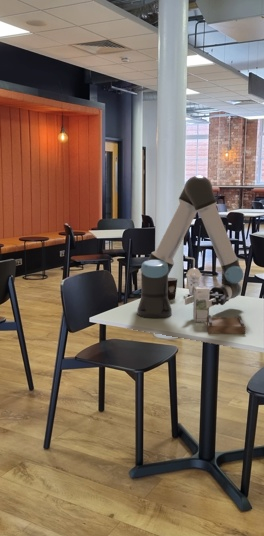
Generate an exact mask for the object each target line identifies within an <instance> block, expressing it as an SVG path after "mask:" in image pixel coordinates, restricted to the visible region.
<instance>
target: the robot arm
mask: <svg viewBox="0 0 264 536" xmlns="http://www.w3.org/2000/svg"><path fill="white" fill-rule="evenodd" d="M213 189H214V188H213V185H212V183H211V181H210V180H209V179H208V178H207V177H206V176H204V175H195V176H192V177H190V178H189V179H188V180H187V181H186V182H185V183H184V187H183V189H182V191H181V192H180V195H179V197H178V201H179V204H178V206H177V207H176V211H175V213H174V215H173V216H172V219H171V220H170V223H169V225H168V227H167V229H166V230H165V232H164V235H163V236H162V238H161V241H160V243H159V245H158V246H157V248H156V250H154V251H152V252H151V253H150V255H149V257H148V259H147V260H144V261H143V262H142V263H141V267H140V272H141V274H140V275H141V280H140V281H141V282H140V284H141V285H140V286H141V288H140V289H141V290H140V291H141V296H140V300H139V304H138V307H137V316H139V317H142V318H147V319H148V318H149V319H160V318H161V319H162V318H169V317H171V316H172V311H173V310H172V306H171V303H170V300H169V299H168V278H169V275H170V273H171V271H172V269H173V267H174V265H175V262H174V258H175V256H176V254H177V252H178V250H179V248H180V246H181V244H182V242H183V240H184V238H185V236H186V234H187V232H188V231H189V228H190V226H191V224H192V222H193V220H194V218H195V217H196V215H197V213H199V216H200V218H201V221H202V223H203V226H204V228H205V231H206V233H207V235H208V237H209V241H210V242H211V245H212V247H213V249H214V252H215V255H216V257H217V259H218V262H219V264H220V266H221V267H220V268H221V284H219V285H217V286H214V287H212V288H211V289H210V293H209V300H208V301H207V302H206V308H209V309H210V308H211V307H214V306H219V305H220V306H224V305H225V304H226V303H227V302H229V300H231V299H232V300H233V299H235V298H237V297H238V296H239V295H240V294H241V293H242V286H241V284H240V282H241V281H242V280H243V278H244V272H243V269H242V267H241V265H240V261H239V260H240V258H239V257H238V256H237V255H236V253H235V251H234V248H233V246H232V243H231V240H230V238H229V235H228V233H227V231H226V227H225V226H224V223H223V221H222V220H223V219H222V218H221V216H220V212H219V210H218V208H217V204H218V203H217V199H216V196H215V193H214V190H213ZM189 304H194V293H193V294H189V293H188V294H187V297H184V305H189Z"/></svg>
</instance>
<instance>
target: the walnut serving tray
mask: <svg viewBox="0 0 264 536" xmlns="http://www.w3.org/2000/svg"><path fill="white" fill-rule="evenodd" d="M205 324H206V329H207V334H224V335H225V334H226V335H227V334H228V335H246V324H245V323H244V320H243V317H242V316H241V315H237V317H234V316H233V317H232V316H225V317H224V316H211V315H210V314H209V315H208V317H206V322H205Z"/></svg>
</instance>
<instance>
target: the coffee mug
mask: <svg viewBox="0 0 264 536" xmlns="http://www.w3.org/2000/svg"><path fill="white" fill-rule="evenodd" d="M177 284H178V278H177V277H168V299H169V301H172V300H175V299H176V294H177Z"/></svg>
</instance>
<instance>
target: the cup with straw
mask: <svg viewBox="0 0 264 536" xmlns="http://www.w3.org/2000/svg"><path fill="white" fill-rule="evenodd" d="M184 259H188V260H190V259H191V260H193V262H192V263H193V264H192V265H193V267H192V268H189V270H187V272H186V275H185V277H186V280H187V285H188V294H193V293H194V286H200V281H201V278H202V277H203V274H202V273H201V271H200V270H199V268H196V267H195V265H196V259H195V258H194V257H191V256H190V257H188V256H184Z"/></svg>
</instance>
